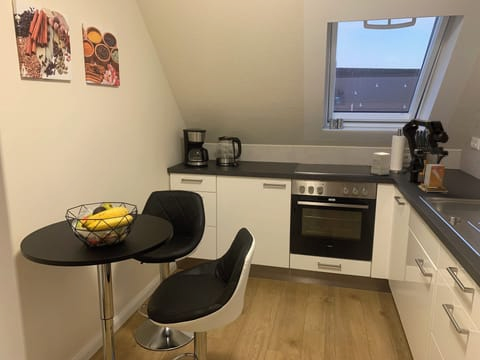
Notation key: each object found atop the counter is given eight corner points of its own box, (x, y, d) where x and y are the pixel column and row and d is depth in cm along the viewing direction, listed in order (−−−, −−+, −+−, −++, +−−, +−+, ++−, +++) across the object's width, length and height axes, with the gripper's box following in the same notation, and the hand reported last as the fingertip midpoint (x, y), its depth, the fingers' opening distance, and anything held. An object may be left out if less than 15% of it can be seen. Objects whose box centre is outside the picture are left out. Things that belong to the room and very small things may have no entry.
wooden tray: (418, 186, 235) (418, 182, 235) (438, 187, 234) (439, 183, 233) (426, 192, 222) (426, 188, 221) (447, 193, 220) (448, 189, 219)
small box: (428, 187, 224) (431, 165, 221) (423, 184, 230) (426, 163, 227) (442, 187, 224) (445, 166, 221) (436, 184, 230) (439, 164, 227)
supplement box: (380, 171, 279) (382, 152, 276) (389, 174, 271) (391, 153, 268) (370, 172, 276) (372, 152, 273) (379, 175, 268) (381, 154, 265)
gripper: (421, 142, 224) (417, 167, 228) (453, 143, 222) (450, 169, 225) (415, 140, 235) (412, 164, 238) (446, 141, 233) (443, 165, 236)
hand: (429, 165), depth 234 cm, fingers open, 9 cm apart
